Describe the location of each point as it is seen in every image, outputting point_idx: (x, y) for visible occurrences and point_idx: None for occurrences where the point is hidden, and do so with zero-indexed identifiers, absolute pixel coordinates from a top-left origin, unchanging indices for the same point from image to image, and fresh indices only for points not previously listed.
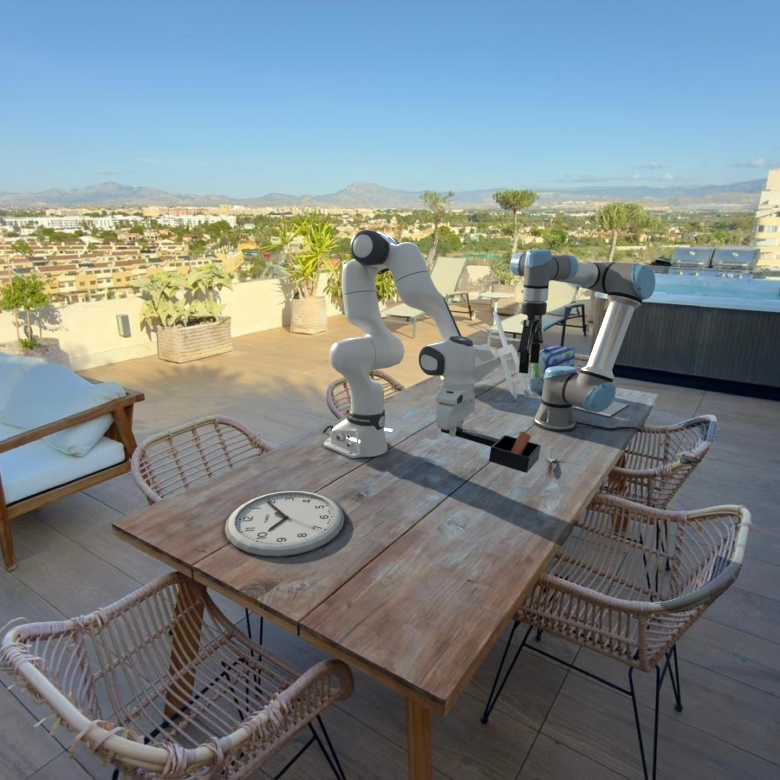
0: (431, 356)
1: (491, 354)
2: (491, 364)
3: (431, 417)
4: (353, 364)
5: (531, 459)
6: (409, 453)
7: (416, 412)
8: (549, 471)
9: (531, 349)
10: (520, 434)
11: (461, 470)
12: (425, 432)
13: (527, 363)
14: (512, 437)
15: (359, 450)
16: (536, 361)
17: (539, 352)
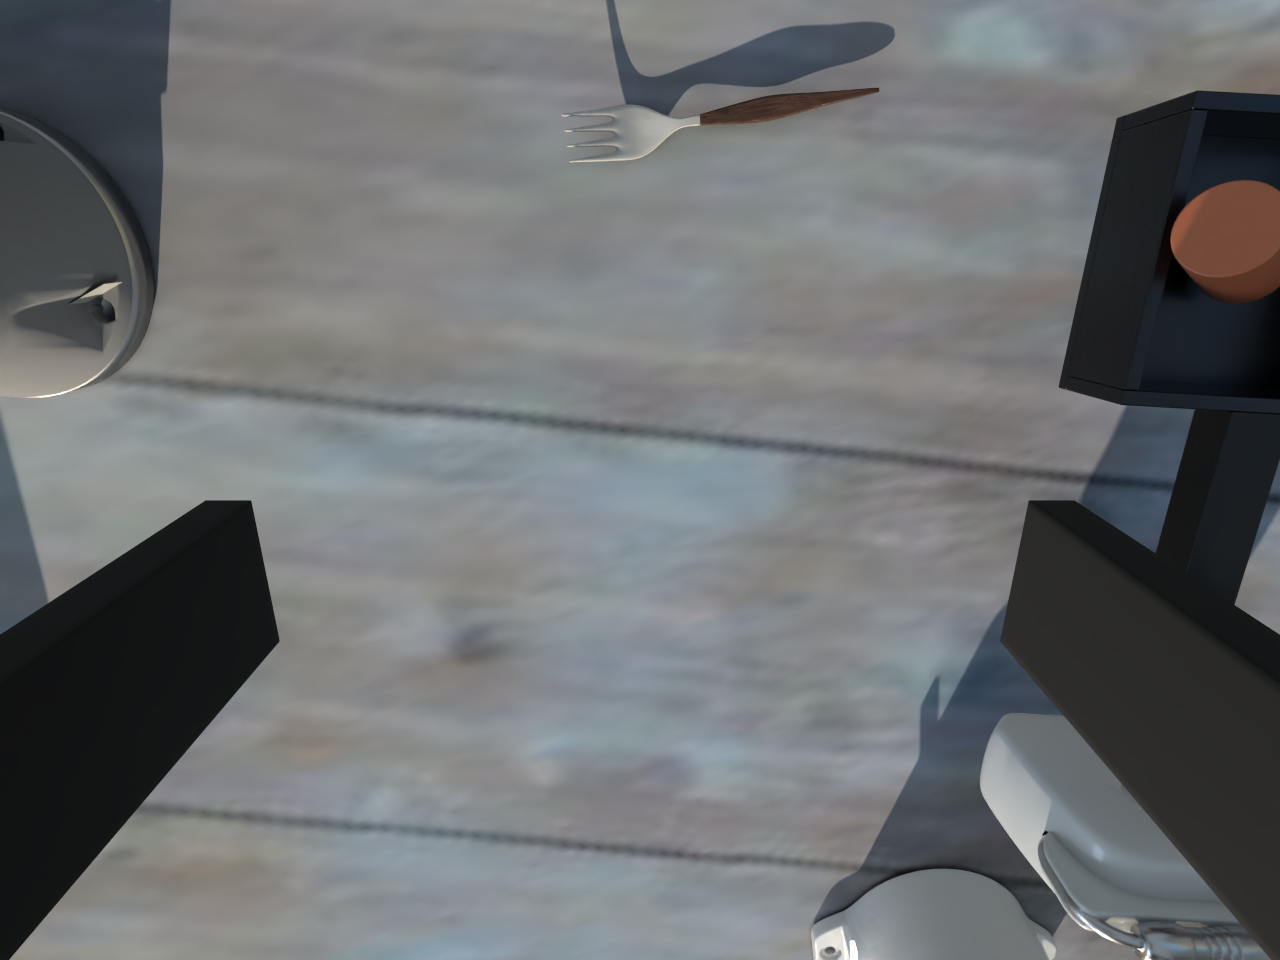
0: None
1: None
2: None
3: (418, 865)
4: None
5: None
6: (899, 789)
7: (401, 937)
8: (850, 95)
9: (99, 840)
10: (1268, 266)
11: (990, 538)
12: (624, 820)
13: (1220, 616)
14: (1146, 337)
15: (1045, 953)
16: (238, 548)
17: (36, 615)
